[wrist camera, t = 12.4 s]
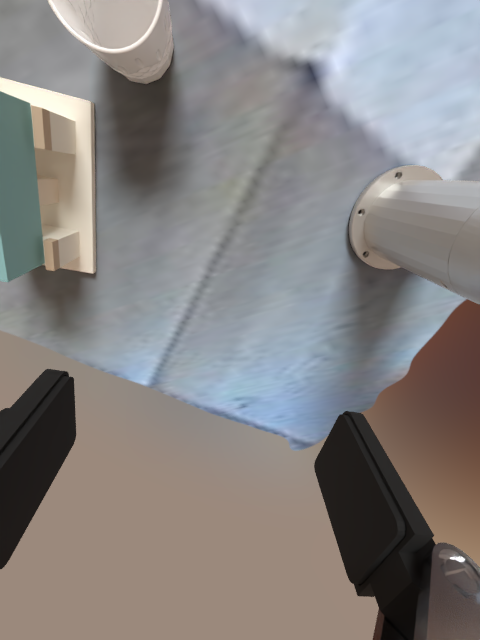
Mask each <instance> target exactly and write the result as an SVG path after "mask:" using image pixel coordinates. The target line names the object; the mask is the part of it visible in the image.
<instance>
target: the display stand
mask: <svg viewBox="0 0 480 640" xmlns="http://www.w3.org/2000/svg"><path fill="white" fill-rule="evenodd" d="M0 91H1V92H4V93H6V94H9V95H11V96H14V97H16V98H19V99H21V100H24V101H26V102H29V103H30V105H31V116H32V127H33V138H34V149H35V160H36V171H37V182H38V193H39V204H40V215H41V226H42V237H43V248H44V258H45V263H44V264H43V265H45V266H46V270H51V271H55V270H57V269H59V268H63V269H69V270H75V271H81V272H87V273H92V274H93V273H95V272H96V216H95V118H94V103H92V102H91V101H87V100H83V99H79V98H76V97H72V96H68V95H64V94H61V93H57V92H53V91H49V90H45V89H42V88H38V87H34V86H30V85H27V84H23V83H19V82H15V81H12V80H8V79H4V78H0Z"/></svg>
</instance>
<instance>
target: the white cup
mask: <svg viewBox="0 0 480 640" xmlns="http://www.w3.org/2000/svg"><path fill="white" fill-rule="evenodd" d="M48 2H49V4H50V6H51V8H52V10H53V11H54V13H55V14H56V16H57V17H58V19H59V20H60V21H61V23H62V24H63V25H64V26H65V28H66V29H67V30H68V31H69V32H70V33H71V34H72V35H73V36H75V37H76V38H77V39H78V40H79V41H80V42H82V43H83V44H84V45H85V46H86V47H87V48H88V49H89V50H91V51H92V52H93V53H94V54H95V55H96V56H97V57H99V58H100V59H101V60H102V61H104V62H105V63H106V64H107V65H109V66H110V67H111V68H112V69H114V70H115V71H117V72H119V73H120V74H122V75H123V76H124V77H126V78H127V79H128V80H130V81H132V82H138V83H143V84H148V83H150V82H153V81H155V80H158V79H160V78H161V77H162V75H163V74H164V73H165V71H166V70H167V69H168V67H169V66H170V63H171V58H172V53H173V48H174V43H173V37H172V22H171V15H170V8H169V3H168V0H48Z"/></svg>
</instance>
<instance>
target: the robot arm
mask: <svg viewBox="0 0 480 640" xmlns="http://www.w3.org/2000/svg"><path fill="white" fill-rule="evenodd" d="M395 174H396V176H395ZM359 210H360V212H359V213H358V211H359ZM349 238H350V243H351V246H352V249H353V250H354V252H355V254H356V255H357V256H358V257H359V258H360V259H361V260H362V261H363V262H365V263H366V264H368V265H370V266H372V267H374V268H378V269H383V270H392V269H397V268H401V267H402V268H404V269H406V270H408V271H410V272H412V273H414V274H416V275H419V276H421V277H423V278H425V279H427V280H429V281H431V282H433V283H435V284H437V285H439V286H441V287H443V288H445V289H448V290H450V291H452V292H454V293H456V294H458V295H460V296H462V297H464V298H467V299H469V300H471V301H473V302H475V303H478V304H480V181H449V180H443V179H442V178H441V177H440V175H438V174H437V173H436V172H435V171H433V170H432V169H429V168H427V167H425V166H418V165H406V166H401V167H396V168H394V169H391V170H389V171H386V172H385V173H383V174H381V175H380V176H378V177H377V178H376V179H375V180H373V181H372V182H371V183H370V184H369V185H368V186H367V187H366V188H365V190H364V191H363V192H362V193H361V195H360V197H359V198H358V200H357V201H356V203H355V206H354V208H353V211H352V213H351V217H350V222H349ZM363 253H364V254H363ZM75 422H76V420H75V396H74V378H73V377H69V374H68V372H65V371H59V370H51V369H47V370H45V371H44V372H43V373H42V374H41V375H40V376H39V377H38V378H37V379H36V380H35V381H34V383H33V384H32V385H31V386H30V387H29V388H28V389H27V390H26V391H25V393H23V395H22V396H21V397H20V398H19V399H18V400H17V401H16V402H15V404H13V405H12V407H11V408H5V409H3V410H1V411H0V569H2V568H3V567H4V566H5V565H6V564H7V562H8V560H9V559H10V557H11V555H12V553H13V552H14V550H15V548H16V546H17V545H18V543H19V541H20V539H21V537H22V536H23V534H24V532H25V530H26V528H27V527H28V525H29V523H30V521H31V520H32V517H33V516H34V514H35V512H36V510H37V509H38V507H39V505H40V503H41V501H42V500H43V498H44V496H45V494H46V492H47V491H48V489H49V487H50V486H51V484H52V482H53V480H54V478H55V476H56V475H57V473H58V471H59V469H60V468H61V466H62V464H63V462H64V460H65V459H66V457H67V455H68V453H69V451H70V450H71V448H72V446H73V444H74V441H75V438H76V423H75ZM314 467H315V473H316V476H317V479H318V482H319V486H320V489H321V492H322V495H323V499H324V502H325V505H326V508H327V511H328V515H329V518H330V521H331V524H332V528H333V531H334V534H335V537H336V540H337V544H338V547H339V550H340V553H341V557H342V560H343V563H344V566H345V570H346V573H347V576H348V578H349V580H350V582H351V583H353V584H354V586H355V589H356V592H357V595H358V596H370V597H374V596H375V598H376V601H377V603H378V606H379V610H378V615H377V620H376V625H375V630H374V635H373V640H480V567H479V566H478V565H477V564H476V563H475V562H474V561H473V560H472V559H471V558H470V557H469V556H468V555H467V554H465V553H464V552H463V551H462V550H460V549H458V548H457V547H455V546H453V545H451V544H447V543H438V544H435V542H434V541H433V539H432V537H433V536H434V535H433V533H432V531H431V530H430V528H429V526H428V524H427V523H426V521H425V519H424V518H423V516H422V514H421V513H420V511H419V509H418V507H417V506H416V504H415V502H414V501H413V499H412V497H411V495H410V494H409V492H408V491H407V488H406V487H405V485H404V483H403V482H402V480H401V478H400V476H399V475H398V473H397V472H396V470H395V468H394V466H393V465H392V463H391V461H390V459H389V458H388V456H387V454H386V453H385V451H384V449H383V448H382V446H381V444H380V442H379V441H378V439H377V437H376V436H375V434H374V432H373V430H372V429H371V427H370V425H369V423H368V422H367V420H366V418H365V417H364V415H363V414H361V413H356V412H349V411H345V412H344V413H343V414H342V415H339V417H338V418H337V420H336V422H335V424H334V426H333V428H332V430H331V432H330V434H329V436H328V437H327V439H326V441H325V443H324V445H323V447H322V449H321V451H320V453H319V455H318V456H317V458H316V461H315V465H314Z"/></svg>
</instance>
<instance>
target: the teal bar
mask: <svg viewBox="0 0 480 640" xmlns="http://www.w3.org/2000/svg"><path fill="white" fill-rule="evenodd" d="M44 263H45V258H44V248H43V237H42V226H41V215H40V204H39V193H38V182H37V171H36V160H35V149H34V138H33V127H32V116H31V105H30V103H29V102H26V101H24V100H21V99H19V98H16V97H14V96H11V95H9V94H6V93H4V92H1V91H0V281H4V282H9V281H11V280H13V279H15V278H17V277H19V276H21V275H23V274H25V273H27V272H29V271H31V270H33V269H35V268H37V267H39V266H41V265H43V264H44Z"/></svg>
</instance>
